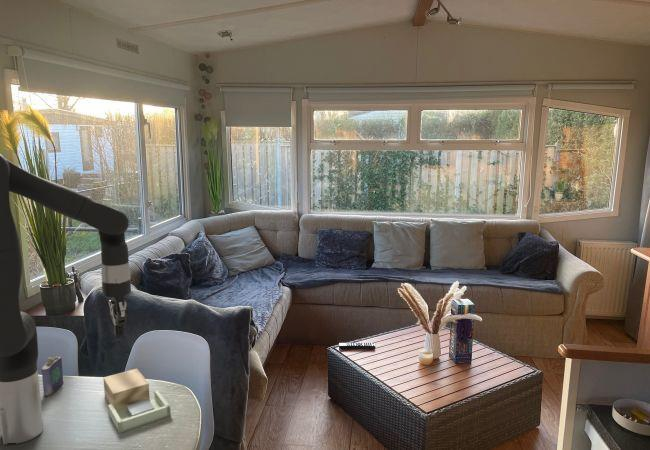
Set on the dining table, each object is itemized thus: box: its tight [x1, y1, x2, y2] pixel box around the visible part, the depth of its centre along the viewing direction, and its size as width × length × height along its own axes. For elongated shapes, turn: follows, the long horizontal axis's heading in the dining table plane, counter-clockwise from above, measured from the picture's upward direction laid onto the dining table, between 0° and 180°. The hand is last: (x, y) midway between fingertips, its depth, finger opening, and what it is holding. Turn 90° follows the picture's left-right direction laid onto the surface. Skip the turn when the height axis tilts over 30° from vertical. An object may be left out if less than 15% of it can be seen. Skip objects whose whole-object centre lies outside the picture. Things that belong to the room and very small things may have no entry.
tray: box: [108, 389, 171, 434], centre depth 135 cm, size 14×11×3 cm
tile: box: [126, 399, 154, 417], centre depth 136 cm, size 6×6×2 cm
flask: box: [41, 356, 64, 397], centre depth 149 cm, size 9×3×11 cm, turn 2°
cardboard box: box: [102, 368, 150, 411], centre depth 144 cm, size 10×12×6 cm
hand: (119, 335), depth 138 cm, fingers closed
